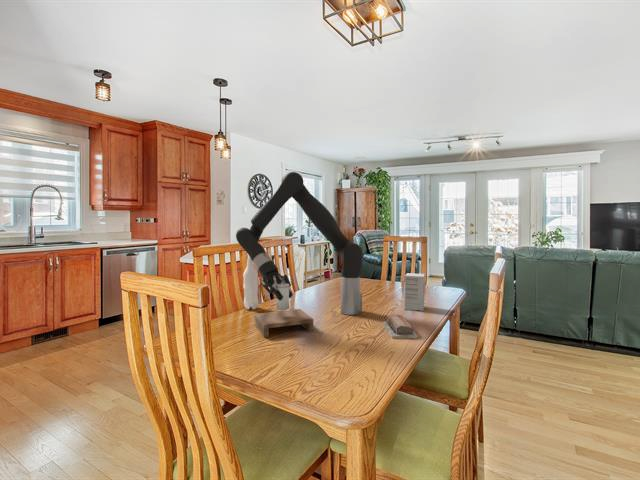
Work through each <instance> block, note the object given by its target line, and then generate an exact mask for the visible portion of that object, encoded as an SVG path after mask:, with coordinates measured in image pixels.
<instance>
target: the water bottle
mask: <svg viewBox="0 0 640 480" xmlns="http://www.w3.org/2000/svg"><path fill="white" fill-rule="evenodd" d="M246 261H247V262H246V268H245V269H244V271H243V275H242V276H243V285H242V288H243V291H244V292H243V293H244V298H243V306H244V308H245V309H246V310H248V309H249V310H250V309H251V310H255V309H257V308H258V307H259V297H258V290H259V272H258V270H257V269H256V267H255V265H254V263H253V261H252V260H251V258H250V257H249V258H247V260H246Z"/></svg>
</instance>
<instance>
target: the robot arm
mask: <svg viewBox="0 0 640 480" xmlns="http://www.w3.org/2000/svg"><path fill="white" fill-rule="evenodd" d="M291 198H292V199H293V200H294V201H295V202H297V204H298V205H299V206H300V208H301V209H302V211H303V212H304V214H305V215H306V217H307V218H308V219H309V220H310V222H311V223H312V225H314V227H315V228H316V230H318V231H319V232H320V234H322V235H323V236H324V238H326V239H327V240H328V241H329V243H330V244H331V245H332V247H333V248H334V250H335V251H336V252H337V254H338V257H340V258H341V260H342V262H343V263H342V269H341V271H340V313H341V314H342V315H346V316H347V315H348V316H353V315H355V316H356V315H359V314H362V313H363V292H361V273H362V271H363V250H362V247H361V246H360V245H359V244H358V243H354V242H351V240H349V239H348V237H346V235H345V234H344V233H343V231H342V230H341V229H340V227H339V224H338V222H337V220H336V218H335V217H334V216H333V215H332V213H331V212H330V211H329V210H328V208H327V207H326V206H325V205H324V204H323V203H322V202H321V201H319V200H318V199H317V198H316V197H315V196H314V195H312V193H311V192H310V191H309V189H308V188H307V187H306V185H305V184H304V179H303V176H302V174H300V173H298V172H295V171H290V172H287V173H285V175H283V176H282V179H281V183H280V185H279V186H278V188H277V190H276V191H275V192H274V193H273V195H271V197H270V198H269V199H268V200H267V201H266V202H265V203H264V204H263V205H262V206H261V208H260V209H259V210H257V212H256V213H255V214H254V216H253V217H252V218H251V220H250V223H251V226H250V228H247V227H240V228H238V229H237V231H236V233H235V238H236V241H237V243H238V244H239V245H240V246H241V248H242V249H243V250H244V251H245V252H246V253H247V255H248V256H249V258H251V260H252V261H253V263H254V267H255V269H256V271H257V273H258V274H259V275H260V276H261V278H262V280H261V281H260V285H261V286H262V287H263V288H264V289H265V291H267V292H268V294H273V295H275V298H276V300H277V299H278V300H279V301H280V300H282V299H283V296H282V294H281V293H280V291H279V290H278V288H277V284H279V283H288V284H289V299H290V298H292V297H293V292H292V291H291V290H290V287H291V286H292V284H291V282H290V279H289V277H288V275H287V274H284V275H281V273H279V268H278V266H277V265H276V263H275V262H274V260H273V259H272V257H271V256H270V255H269V254H268V253H267V251H266V249H265V248H264V247H263V245H262V244H260V243H259V241H260V238H261V236H262V234H263V233H264V230H265V228H266V227H267V226H268V225H269V224H270V223H271V221H273V219H274V218H275V216H276V215H277V214H278V213H279V211H280V210H281V209H282V207H283V206H284V205H286V203H287V202H288V201H289V200H290V199H291Z"/></svg>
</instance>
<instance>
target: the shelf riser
mask: <svg viewBox="0 0 640 480" xmlns="http://www.w3.org/2000/svg"><path fill="white" fill-rule="evenodd" d="M296 325H297V326H298V325H301V327H303V328H304V329H306V330H307V331H308V332H314V318H313V317H312V316H310V315H309V314H307V313H306V312H305V311H304V310H302V309H301V308H296V309H288V310H278V311H277V310H276V311H268V312H260V313H255V314H254V326H255V327H256V329H257V330H258V332H259V331H260V332H259V333H260V334H261V336H262V337H263V338H265V339H267V338H269V337H270V334H269V333H270V332H269V330H270V329H272V328H273V329H274V328H280V327H287V326H288V327H289V326H296Z"/></svg>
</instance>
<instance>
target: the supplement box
mask: <svg viewBox="0 0 640 480" xmlns="http://www.w3.org/2000/svg"><path fill="white" fill-rule="evenodd" d="M425 283H426V274H425V273H409V272H407V273H406V274H405V275H404V304H403V305H404V306H403V307H404V311H405V310H407V311H417V310H420V311H419V312H424V310H425V293H426V292H425V291H426V288H425V287H426V286H425V285H426V284H425Z"/></svg>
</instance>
